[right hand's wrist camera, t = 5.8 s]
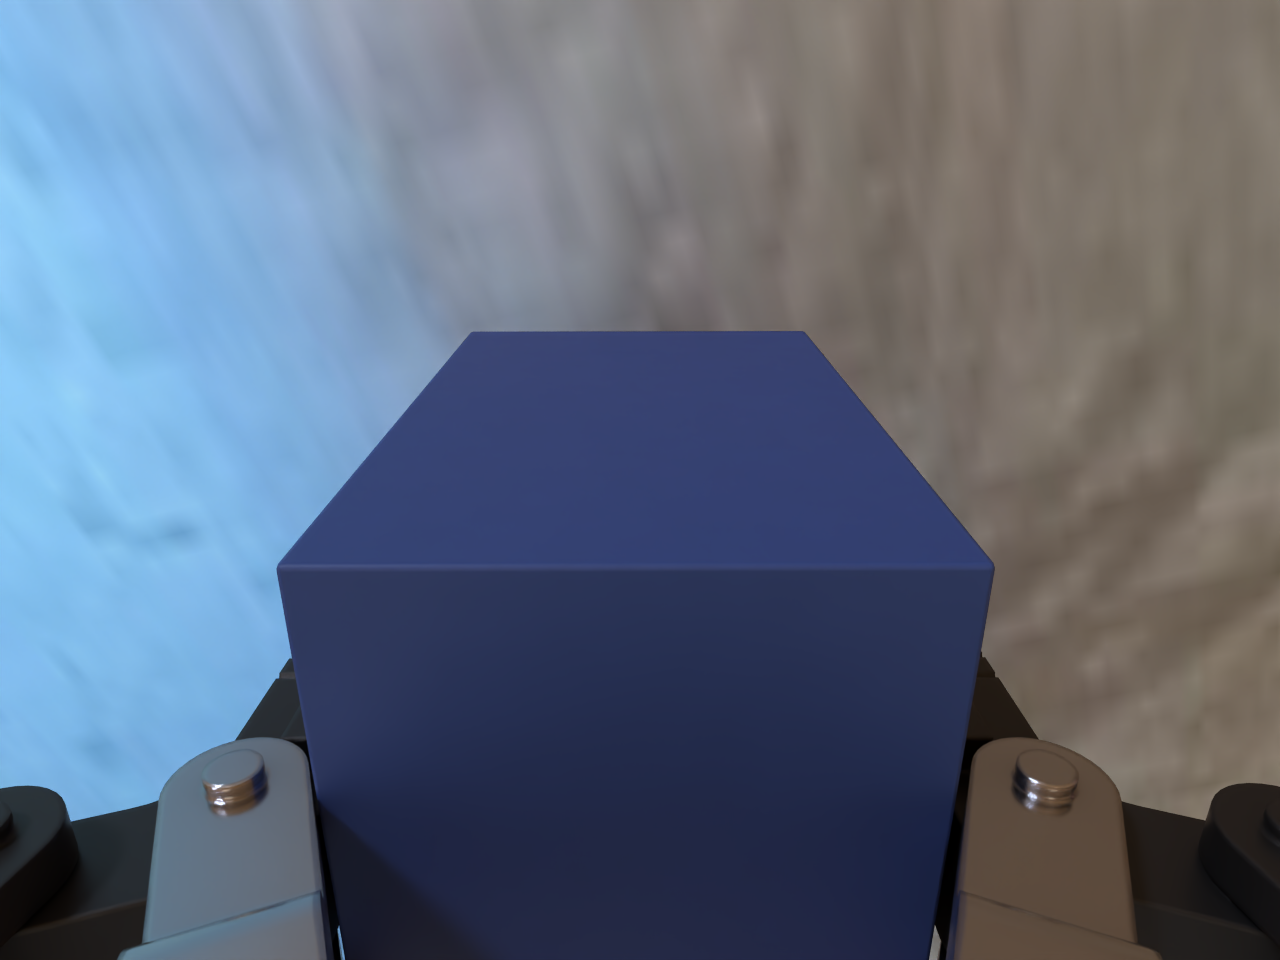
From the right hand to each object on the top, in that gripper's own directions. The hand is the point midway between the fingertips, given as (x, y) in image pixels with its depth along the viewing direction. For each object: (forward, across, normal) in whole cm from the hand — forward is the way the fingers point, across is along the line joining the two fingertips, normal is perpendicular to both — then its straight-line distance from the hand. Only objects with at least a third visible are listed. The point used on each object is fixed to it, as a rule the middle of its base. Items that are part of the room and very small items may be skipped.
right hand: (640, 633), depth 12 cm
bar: (+4, 0, -10) cm, 11 cm away
